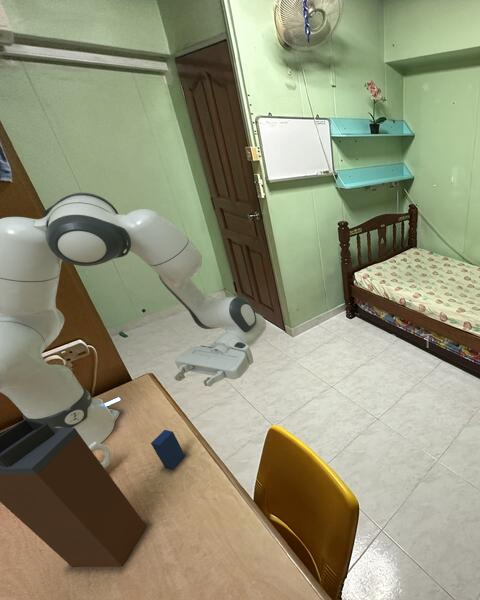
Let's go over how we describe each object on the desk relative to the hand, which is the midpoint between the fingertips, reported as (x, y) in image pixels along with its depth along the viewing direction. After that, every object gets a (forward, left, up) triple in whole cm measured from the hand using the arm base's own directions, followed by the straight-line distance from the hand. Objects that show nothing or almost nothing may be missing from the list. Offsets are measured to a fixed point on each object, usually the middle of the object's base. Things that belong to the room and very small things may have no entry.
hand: (191, 381), depth 84 cm
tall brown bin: (+7, -30, -17) cm, 35 cm away
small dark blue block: (+2, -12, -17) cm, 21 cm away
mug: (-11, -23, -17) cm, 31 cm away
